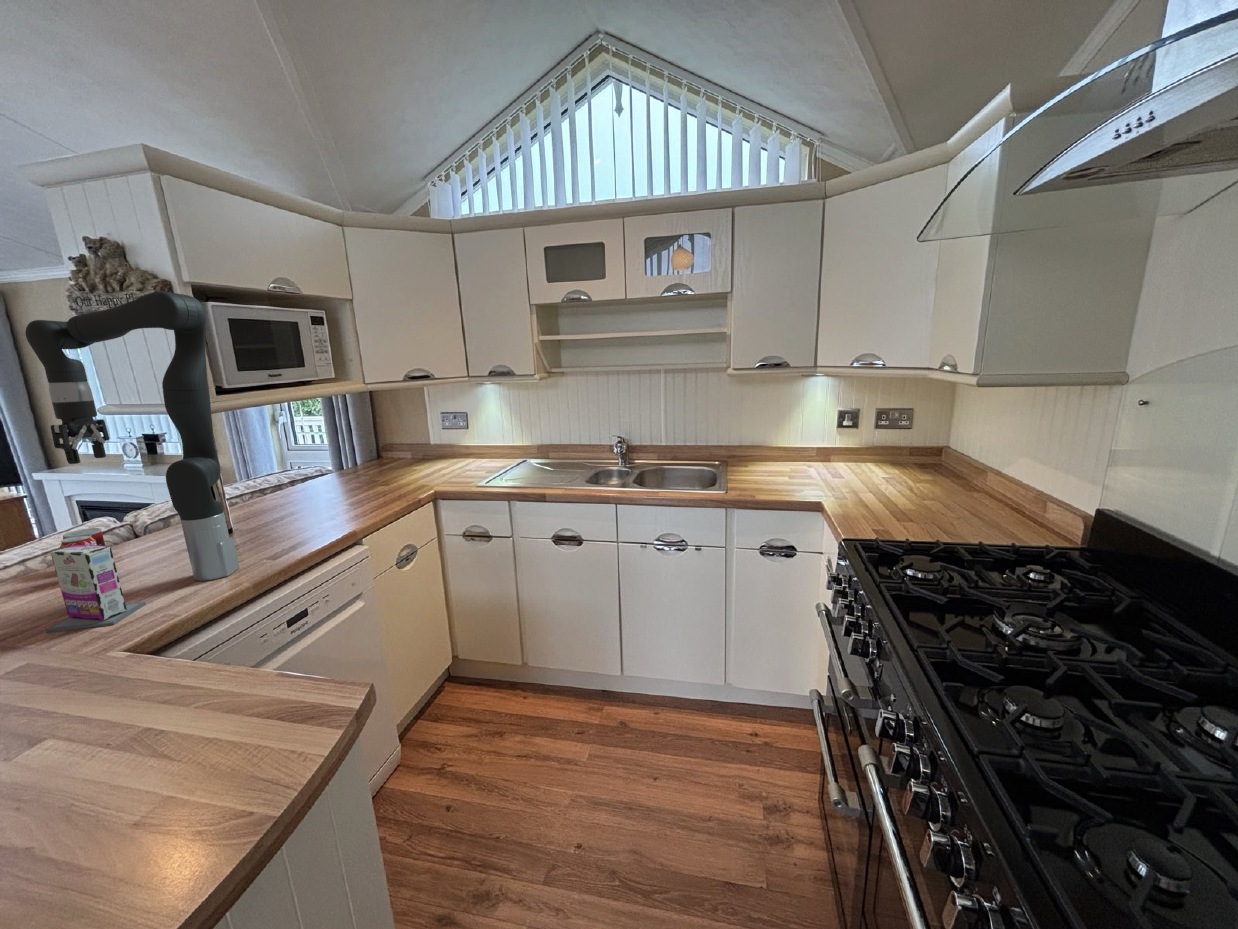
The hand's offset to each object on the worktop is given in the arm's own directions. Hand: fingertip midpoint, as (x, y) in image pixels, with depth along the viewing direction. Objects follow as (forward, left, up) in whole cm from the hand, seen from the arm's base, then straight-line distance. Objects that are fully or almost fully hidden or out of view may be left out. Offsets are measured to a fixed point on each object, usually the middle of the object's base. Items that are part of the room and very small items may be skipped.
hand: (88, 460), depth 133 cm
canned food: (+15, -11, -34) cm, 38 cm away
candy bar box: (-14, +27, -33) cm, 45 cm away
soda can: (+9, -1, -34) cm, 35 cm away
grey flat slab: (-14, +28, -34) cm, 46 cm away
